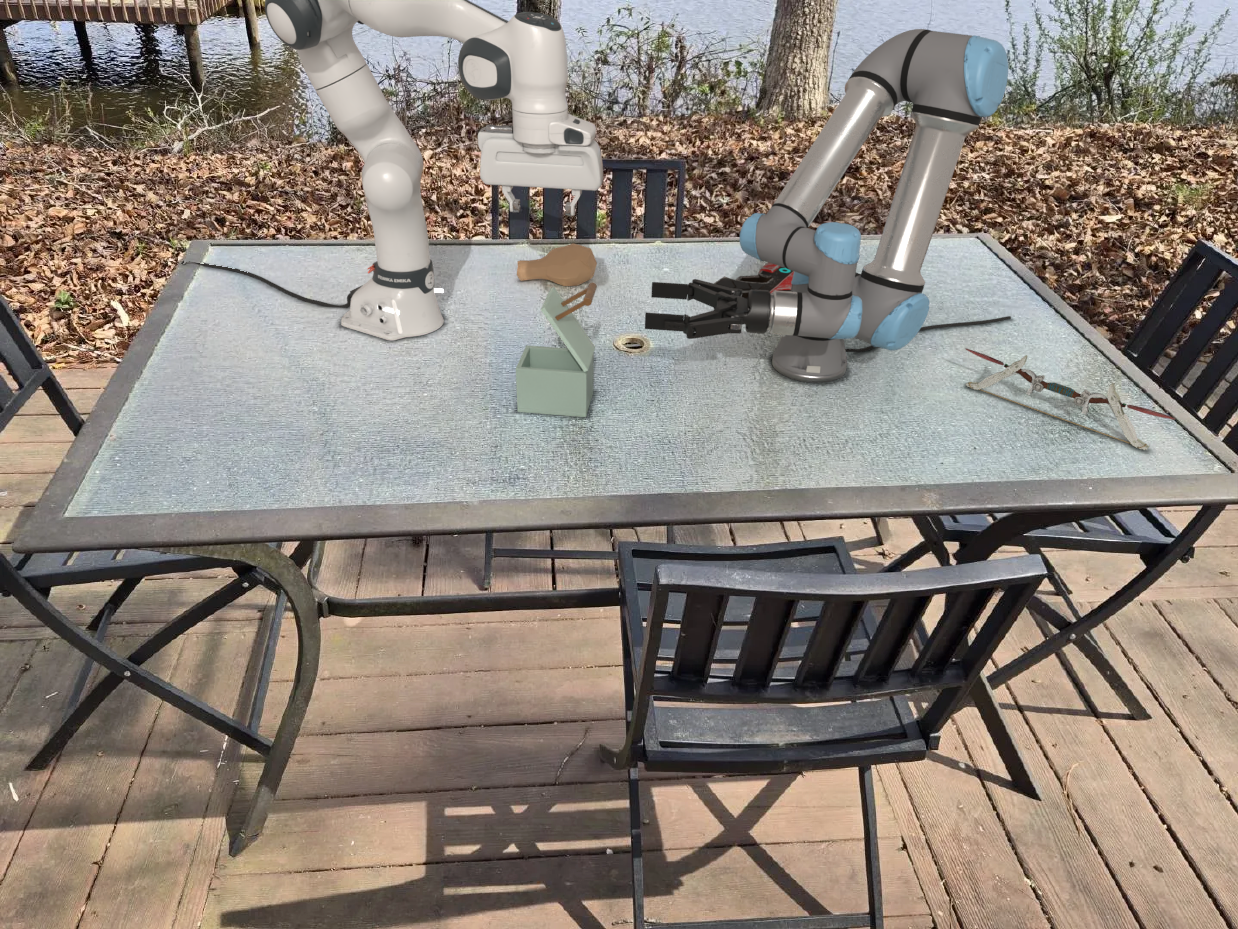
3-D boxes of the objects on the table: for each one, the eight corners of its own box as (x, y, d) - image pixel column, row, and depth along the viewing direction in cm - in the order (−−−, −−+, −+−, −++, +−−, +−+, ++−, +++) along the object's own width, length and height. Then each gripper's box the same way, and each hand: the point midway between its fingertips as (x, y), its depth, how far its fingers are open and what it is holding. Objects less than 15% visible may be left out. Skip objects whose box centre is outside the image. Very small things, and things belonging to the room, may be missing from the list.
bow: (1161, 452, 158) (1183, 404, 152) (1158, 456, 157) (1180, 408, 151) (958, 380, 179) (970, 335, 174) (954, 383, 178) (966, 338, 173)
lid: (540, 309, 152) (579, 287, 149) (550, 288, 161) (587, 266, 157) (584, 372, 158) (622, 352, 155) (591, 348, 166) (628, 329, 163)
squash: (598, 290, 214) (593, 257, 208) (517, 297, 216) (510, 265, 210) (599, 266, 222) (594, 234, 216) (521, 274, 224) (515, 242, 218)
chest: (517, 412, 165) (515, 368, 159) (527, 387, 173) (526, 345, 168) (586, 417, 164) (586, 373, 158) (593, 392, 172) (593, 350, 166)
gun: (708, 284, 207) (784, 305, 199) (760, 245, 229) (831, 262, 221) (706, 302, 209) (781, 323, 201) (758, 261, 231) (828, 278, 223)
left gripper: (472, 128, 138) (477, 214, 146) (600, 135, 137) (599, 222, 145) (481, 119, 144) (486, 203, 151) (605, 125, 142) (604, 210, 150)
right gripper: (769, 364, 145) (641, 355, 147) (765, 303, 165) (653, 296, 167) (774, 322, 141) (642, 314, 142) (770, 265, 161) (655, 258, 163)
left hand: (542, 212), depth 148 cm, fingers open, 8 cm apart
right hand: (648, 304), depth 155 cm, fingers open, 13 cm apart
